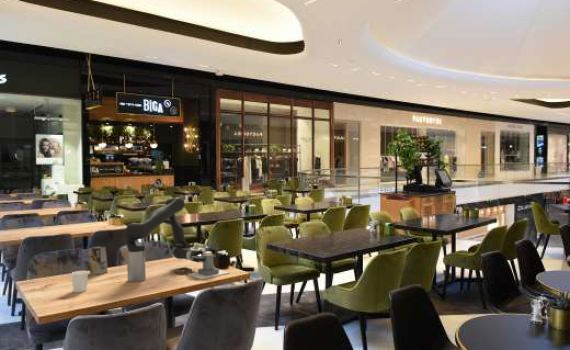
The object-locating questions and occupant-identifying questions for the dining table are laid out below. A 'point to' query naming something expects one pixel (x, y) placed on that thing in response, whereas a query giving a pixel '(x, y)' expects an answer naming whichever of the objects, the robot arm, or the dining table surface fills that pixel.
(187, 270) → the holster
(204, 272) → the port
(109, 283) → the dining table surface
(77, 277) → the white cup
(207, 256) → the grey bottle
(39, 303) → the dining table surface
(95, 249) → the coffee box
